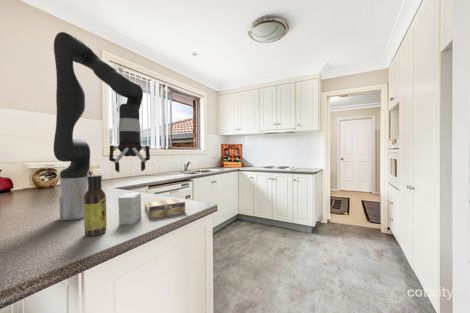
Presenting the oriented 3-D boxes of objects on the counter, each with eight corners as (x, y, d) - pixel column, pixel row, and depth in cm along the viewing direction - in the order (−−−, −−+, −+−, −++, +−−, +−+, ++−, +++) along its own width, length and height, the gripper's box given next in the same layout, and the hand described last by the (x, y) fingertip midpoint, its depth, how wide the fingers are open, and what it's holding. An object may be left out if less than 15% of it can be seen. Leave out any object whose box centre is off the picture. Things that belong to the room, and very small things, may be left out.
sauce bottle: (106, 234, 68) (105, 175, 67) (83, 238, 65) (82, 177, 64) (106, 228, 73) (105, 174, 73) (85, 231, 70) (83, 175, 69)
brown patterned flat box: (149, 218, 83) (149, 207, 83) (144, 209, 97) (144, 199, 97) (185, 212, 91) (185, 202, 91) (176, 204, 105) (175, 195, 105)
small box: (127, 218, 84) (127, 193, 84) (141, 217, 85) (141, 192, 85) (118, 225, 76) (117, 197, 76) (133, 224, 77) (133, 197, 77)
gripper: (147, 132, 86) (148, 169, 87) (108, 130, 79) (109, 171, 79) (150, 131, 80) (151, 171, 81) (108, 129, 73) (109, 173, 73)
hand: (130, 171), depth 80 cm, fingers open, 8 cm apart
